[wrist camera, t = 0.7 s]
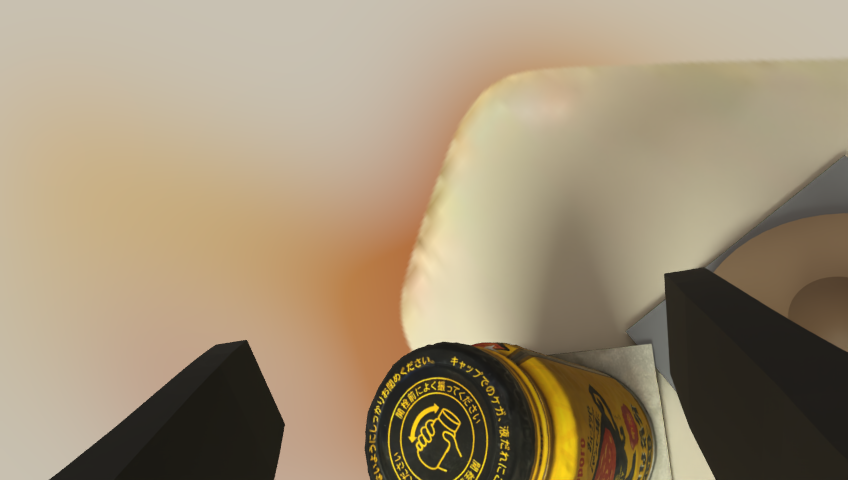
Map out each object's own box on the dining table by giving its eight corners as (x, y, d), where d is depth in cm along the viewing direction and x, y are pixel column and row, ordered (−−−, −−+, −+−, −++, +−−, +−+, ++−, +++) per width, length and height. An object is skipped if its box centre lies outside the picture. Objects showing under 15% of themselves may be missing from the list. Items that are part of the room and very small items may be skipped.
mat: (1177, 382, 17) (1182, 380, 17) (842, 588, 19) (842, 589, 19) (845, 159, 24) (844, 155, 23) (628, 333, 26) (625, 331, 26)
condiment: (681, 536, 22) (560, 594, 13) (484, 525, 27) (289, 563, 18) (653, 344, 25) (534, 279, 16) (477, 363, 29) (304, 321, 20)
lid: (1144, 377, 17) (1219, 341, 13) (842, 565, 19) (836, 578, 16) (844, 171, 23) (840, 109, 20) (642, 332, 26) (605, 303, 22)
